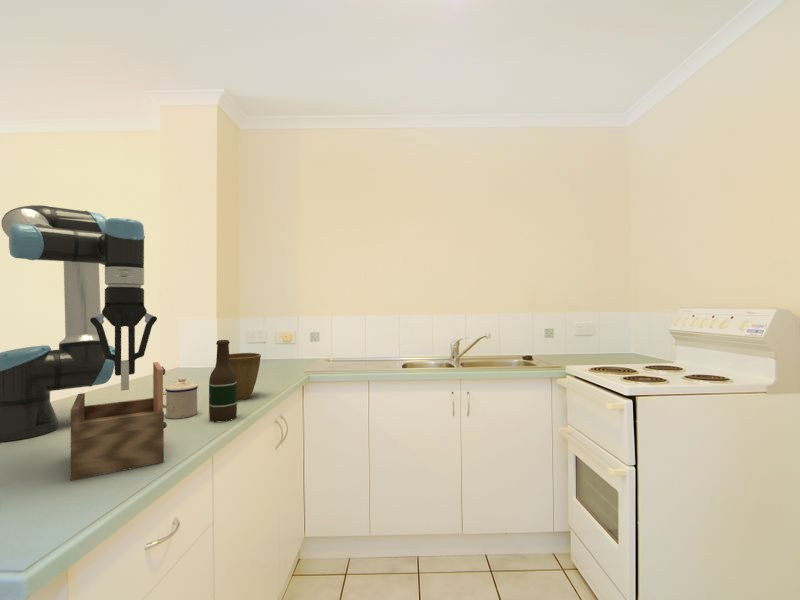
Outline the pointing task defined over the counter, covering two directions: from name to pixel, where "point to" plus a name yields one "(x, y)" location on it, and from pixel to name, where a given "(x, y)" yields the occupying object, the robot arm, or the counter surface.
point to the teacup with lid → (181, 399)
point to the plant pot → (245, 372)
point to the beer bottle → (222, 386)
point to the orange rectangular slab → (158, 387)
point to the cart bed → (114, 436)
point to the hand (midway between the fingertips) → (124, 389)
